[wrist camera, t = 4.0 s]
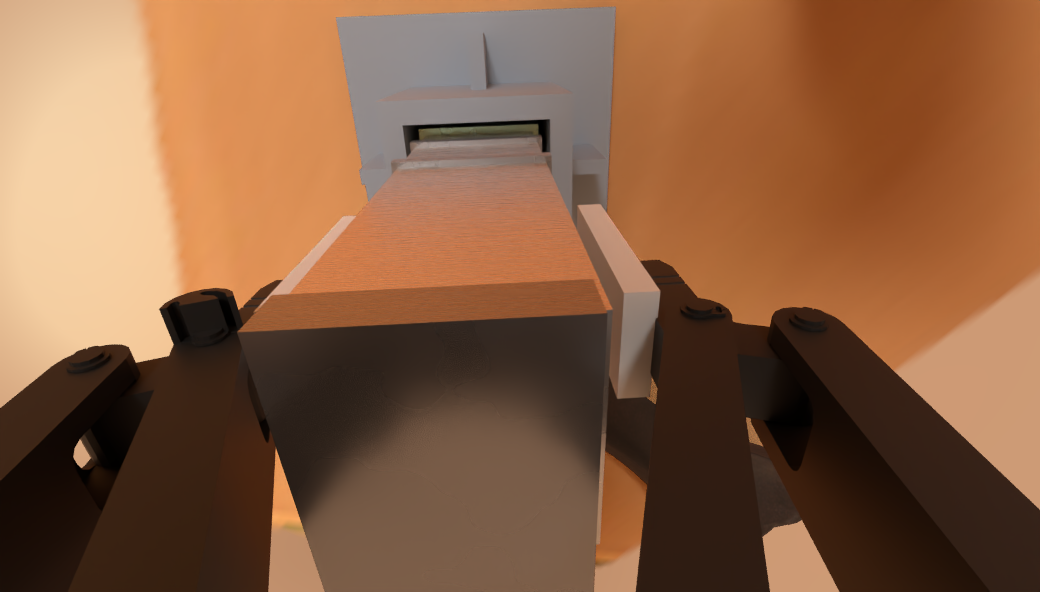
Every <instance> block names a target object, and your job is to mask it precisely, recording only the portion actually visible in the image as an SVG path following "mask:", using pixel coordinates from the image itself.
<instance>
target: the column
mask: <svg viewBox="0 0 1040 592" xmlns="http://www.w3.org/2000/svg"><path fill="white" fill-rule="evenodd" d="M418 130H419V138H420V140H415V141H411V142H410V150H411V153H410V154H409V156H408V157H407V158H406V159H394V160H393V161H392V162H391V169H392V175H391V176H390V178H389V179H388V180H387V181H386V182H385V183H384V185H383V186H382V187H381V188H380V189H379V190H378V191H377V193H376V194H375V195H374V196H373V197H372V198H371V200H370V201H369V202H368V203H367V204H366V205H365V207H364V208H363V209H362V210H361V211H360V212H359V213H358V215H357V216H356V217H355V218H354V219H353V220H352V222H351V223H350V224H349V225H348V226H347V227H346V228H345V230H344V231H343V232H342V233H341V234H340V235H339V237H338V238H337V239H336V240H335V241H334V242H333V244H332V245H331V246H330V247H329V248H328V249H327V250H326V252H325V253H324V254H323V255H322V256H321V257H320V259H319V260H318V261H317V262H316V263H315V264H314V266H313V267H312V268H311V269H310V270H309V271H308V272H307V274H306V275H305V276H304V277H303V278H302V279H301V281H300V282H299V283H298V284H297V285H296V286H295V288H294V289H293V290H292V291H291V292H290V293H289V294H282V295H271V296H270V298H269V299H268V300H267V301H266V302H265V303H264V304H263V305H262V306H261V307H260V308H259V309H258V310H257V311H256V313H255V314H254V315H253V316H252V317H251V318H250V319H249V320H248V321H247V322H246V323H245V324H244V325H243V327H242V328H241V329H240V330H239V331H238V332H237V334H238V337H239V340H240V343H241V346H242V348H243V351H244V354H245V357H246V360H247V363H248V366H249V369H250V372H251V375H252V378H253V381H254V384H255V387H256V390H257V393H258V396H259V399H260V402H261V405H262V408H263V410H264V413H265V416H266V419H267V422H268V425H269V428H270V431H271V434H272V437H273V440H274V443H275V446H276V449H277V452H278V455H279V458H280V461H281V464H282V467H283V470H284V473H285V475H286V478H287V481H288V484H289V487H290V490H291V493H292V496H293V499H294V502H295V505H296V508H297V511H298V514H299V517H300V520H301V523H302V526H303V529H304V532H305V535H306V538H307V540H308V543H309V546H310V549H311V552H312V555H313V558H314V561H315V564H316V567H317V570H318V573H319V576H320V579H321V582H322V585H323V588H324V591H325V592H594V576H595V557H596V544H600V534H601V516H602V498H603V480H604V461H605V443H606V425H607V407H608V388H609V370H610V352H611V334H612V316H613V309H612V307H611V305H610V302H609V300H608V298H607V296H606V294H605V291H604V289H603V287H602V285H601V282H600V280H599V278H598V276H597V274H596V271H595V269H594V267H593V265H592V263H591V260H590V258H589V256H588V254H587V252H586V249H585V247H584V245H583V243H582V240H581V238H580V236H579V234H578V232H577V229H576V227H575V225H574V223H573V221H572V218H571V216H570V214H569V212H568V210H567V207H566V205H565V203H564V201H563V198H562V196H561V194H560V192H559V190H558V187H557V185H556V183H555V181H554V179H553V176H552V155H551V153H550V152H543V153H542V136H541V135H538V123H537V121H536V120H518V121H495V122H471V123H448V124H425V125H422V126H421V127H420V128H419V129H418Z"/></svg>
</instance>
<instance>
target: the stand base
mask: <svg viewBox="0 0 1040 592" xmlns="http://www.w3.org/2000/svg"><path fill="white" fill-rule="evenodd" d="M615 12H616V7H595V8H569V9H542V10H516V11H490V12H463V13H437V14H411V15H384V16H358V17H336V21H337V26H338V32H339V38H340V43H341V49H342V55H343V60H344V66H345V72H346V77H347V83H348V89H349V94H350V100H351V106H352V111H353V117H354V123H355V128H356V134H357V140H358V145H359V151H360V157H361V162H362V168H361V169H360V170H359V171H360V177H361V182H362V185H364V184H365V185H366V191H367V196H368V202H369V201H370V200H371V198H372V197H373V196H374V195H375V194H376V193H377V191H378V190H379V189H380V188H381V187H382V186H383V185H384V183H385V182H386V181H387V180H388V179H389V178H390V176H391V175H392V169H391V162H392V161H393V160H394V159H406V158H407V157H408V156H409V154H410V153H411V150H410V142H411V141H415V140H420V138H419V130H418V129H419V128H420V127H421V126H422V125H425V124H448V123H471V122H495V121H518V120H536V121H537V123H538V135H541V136H542V153H543V152H550V153H551V155H552V176H553V179H554V181H555V183H556V185H557V187H558V190H559V192H560V194H561V196H562V198H563V201H564V203H565V205H566V207H567V210H568V212H569V214H570V216H571V218H572V221H573V223H574V225H575V227H576V229H577V205H592V204H601V205H602V207H603V208H604V210H605V211H606V213H607V193H608V170H609V148H610V125H611V102H612V80H613V57H614V34H615Z"/></svg>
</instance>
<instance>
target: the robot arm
mask: <svg viewBox="0 0 1040 592" xmlns="http://www.w3.org/2000/svg"><path fill="white" fill-rule="evenodd" d="M355 217H356V216H343V217H342V218H341V219H340V220H339V221H338V223H337V224H336V225H335V226H334V227H333V228H332V229H331V230H330V231H329V232H328V233H327V234H326V235H325V236H324V237H323V238H322V239H321V241H320V242H319V243H318V244H317V245H316V246H315V247H314V248H313V249H312V250H311V251H310V252H309V253H308V254H307V255H306V256H305V258H304V259H303V260H302V261H301V262H300V263H299V264H298V265H297V266H296V267H295V268H294V269H293V270H292V271H291V272H290V273H289V275H288V276H287V277H286V278H285V279H284V280H276V281H274V282H272V283H270V284H268V285H267V286H265V287H263V288H261V289H260V290H259V291H258V292H257V293H256V294H255V295H254V296H253V297H252V298H251V300H249V301H248V302H247V303H246V304H245V305H244V308H241V309H240V310H238V307H237V304H236V301H235V298H234V295H233V292H232V291H230V290H228V289H220V288H213V289H203V290H199V291H194V292H190V293H187V294H184V295H181V296H178V297H176V298H174V299H172V300H170V301H168V302H167V303H165V304H164V305H163V306H162V307H161V308H160V309H159V310H160V312H161V315H162V317H163V319H164V322H165V324H166V327H167V329H168V331H169V334H170V336H171V339H172V341H173V344H174V345H173V348H172V350H171V352H170V355H169V356H167V357H162V358H158V359H153V360H148V361H143V362H138V363H136V362H135V360H134V358H133V356H132V353H131V351H130V349H129V347H127V346H124V345H105V346H93V347H89V348H88V349H83V350H80V351H77V352H76V353H75V354H74V355H71V356H69V357H67V358H65V359H63V360H61V361H60V362H58V363H56V364H55V365H53V366H52V367H51V368H50V369H48V370H47V371H46V372H44V373H43V374H42V375H41V376H40V377H38V378H37V379H36V380H35V381H33V382H32V383H31V384H30V385H29V386H27V387H26V388H25V389H24V390H22V391H21V392H20V393H19V394H17V395H16V396H15V397H14V398H12V399H11V400H10V401H9V402H7V403H6V404H5V405H4V406H2V407H1V408H0V592H268V585H269V565H270V547H271V527H272V508H273V488H274V469H275V450H276V446H275V443H274V440H273V437H272V434H271V431H270V428H269V425H268V422H267V419H266V416H265V413H264V410H263V408H262V405H261V402H260V399H259V396H258V393H257V390H256V387H255V384H254V381H253V378H252V375H251V372H250V369H249V366H248V363H247V360H246V357H245V354H244V351H243V348H242V346H241V343H240V340H239V337H238V334H237V332H238V331H239V330H240V329H241V328H242V327H243V325H244V324H245V323H246V322H247V321H248V320H249V319H250V318H251V317H252V316H253V315H254V314H255V313H256V311H257V310H258V309H259V308H260V307H261V306H262V305H263V304H264V303H265V302H266V301H267V300H268V299H269V298H270V296H271V295H282V294H289V293H290V292H291V291H292V290H293V289H294V288H295V286H296V285H297V284H298V283H299V282H300V281H301V279H302V278H303V277H304V276H305V275H306V274H307V272H308V271H309V270H310V269H311V268H312V267H313V266H314V264H315V263H316V262H317V261H318V260H319V259H320V257H321V256H322V255H323V254H324V253H325V252H326V250H327V249H328V248H329V247H330V246H331V245H332V244H333V242H334V241H335V240H336V239H337V238H338V237H339V235H340V234H341V233H342V232H343V231H344V230H345V228H346V227H347V226H348V225H349V224H350V223H351V222H352V220H353V219H354V218H355ZM577 232H578V234H579V236H580V238H581V240H582V243H583V245H584V247H585V249H586V252H587V254H588V256H589V258H590V260H591V263H592V265H593V267H594V269H595V271H596V274H597V276H598V278H599V280H600V282H601V285H602V287H603V289H604V291H605V294H606V296H607V298H608V300H609V302H610V305H611V307H612V309H613V316H612V334H611V352H610V370H609V376H610V379H611V382H612V385H613V388H614V391H615V394H616V397H617V399H621V398H639V397H650V389H651V379H652V378H653V380H654V382H655V384H656V386H657V388H658V390H657V399H656V409H655V418H654V427H653V436H652V446H651V455H650V464H649V474H648V483H647V492H646V502H645V511H644V520H643V529H642V539H641V548H640V557H639V558H640V559H639V567H638V577H637V586H636V592H770V589H769V582H768V575H767V567H766V560H765V554H764V546H763V538H762V531H761V524H760V517H759V509H758V502H757V495H756V488H755V480H754V473H753V466H752V459H751V451H750V444H749V437H748V430H747V422H746V417H748V418H751V423H752V425H753V427H754V429H755V431H756V433H757V435H758V437H759V439H760V441H761V442H762V444H763V446H764V448H765V450H766V452H767V454H768V456H769V458H770V460H771V462H772V464H773V465H774V467H775V469H776V471H777V473H778V475H779V477H780V479H781V481H782V483H783V485H784V486H785V488H786V490H787V492H788V494H789V496H790V498H791V500H792V502H793V504H794V506H795V508H796V509H797V511H798V513H799V515H800V517H801V519H802V521H803V523H804V525H805V527H806V528H807V530H808V532H809V534H810V536H811V538H812V540H813V541H814V544H815V546H816V548H817V550H818V551H819V553H820V555H821V557H822V559H823V561H824V563H825V565H826V567H827V569H828V571H829V572H830V574H831V576H832V578H833V580H834V582H835V584H836V586H837V588H838V590H839V592H1040V510H1039V509H1038V508H1037V507H1036V506H1035V505H1034V504H1033V503H1032V502H1031V501H1030V500H1029V499H1028V498H1027V497H1026V496H1025V495H1024V494H1022V492H1020V491H1019V490H1018V489H1017V488H1016V487H1015V486H1014V485H1013V484H1012V483H1011V482H1010V481H1009V480H1008V479H1007V478H1006V477H1004V475H1003V474H1002V473H1001V472H999V471H998V470H997V469H996V468H995V467H994V466H993V465H992V464H991V463H990V462H989V461H988V460H987V459H986V458H985V457H984V456H983V455H982V454H981V453H979V452H978V451H977V450H976V449H975V448H974V447H973V446H972V445H971V444H970V443H969V442H968V441H967V440H966V439H965V438H964V437H963V436H961V434H959V433H958V432H957V431H956V430H955V429H954V428H953V427H952V426H951V425H950V424H949V423H948V422H947V421H946V420H945V419H944V418H943V417H941V416H940V415H939V414H938V413H937V412H936V411H935V410H934V409H933V408H932V407H931V406H930V405H929V404H928V403H926V401H925V400H923V398H922V397H921V396H919V395H918V394H917V393H916V392H915V391H914V390H913V389H912V388H911V387H910V386H909V385H908V384H907V383H906V382H905V381H904V380H903V379H902V378H901V377H899V376H898V375H897V374H896V373H895V372H894V371H893V370H892V369H891V368H890V367H889V366H888V365H887V364H886V363H885V362H884V361H883V360H882V359H881V358H879V357H878V356H877V355H876V354H875V353H874V352H873V351H872V350H871V349H870V348H869V347H868V346H867V345H866V344H865V343H864V342H863V341H862V340H861V339H859V338H858V337H857V336H856V335H855V334H854V333H853V332H852V331H851V330H850V329H849V328H848V327H847V326H846V325H845V324H844V323H843V322H841V321H840V320H838V319H837V318H835V317H834V316H831V315H829V314H826V313H824V312H823V311H821V310H817V309H814V310H813V309H812V308H808V307H803V308H797V307H792V308H783V309H780V310H778V311H775V313H774V314H773V316H772V320H771V324H770V327H766V326H757V325H748V324H741V323H735V322H733V321H732V315H731V313H730V311H729V309H727V308H726V307H724V306H723V305H721V304H719V303H717V302H714V301H711V300H707V299H701V298H697V296H696V295H695V294H694V293H693V291H692V290H691V289H690V288H689V287H688V285H687V284H685V282H684V281H683V279H682V278H681V277H679V274H678V273H677V272H676V271H675V270H674V268H673V267H672V266H670V265H668V264H666V263H664V262H662V261H660V260H648V261H639V259H638V258H637V256H636V255H635V253H634V252H633V251H632V249H631V248H630V246H629V245H628V243H627V242H626V240H625V239H624V237H623V236H622V235H621V233H620V232H619V230H618V229H617V227H616V226H615V224H614V223H613V221H612V220H611V219H610V217H609V216H608V214H607V213H606V211H605V210H604V208H603V207H602V205H601V204H592V205H577ZM79 439H80V440H81V441H82V443H83V445H84V447H85V448H86V450H87V452H88V454H89V455H90V457H91V459H90V460H89V461H88V463H87V464H86V465H85V466H84V467H83V468H80V467H79V466H78V465H77V463H76V461H75V460H74V458H73V455H74V448H75V446H76V445H77V443H78V441H79Z"/></svg>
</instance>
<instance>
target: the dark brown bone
mask: <svg viewBox="0 0 1040 592" xmlns="http://www.w3.org/2000/svg"><path fill="white" fill-rule="evenodd" d="M655 409H656V405H655V404H654V403H653V402H651V401H650V400H649V399H647V398H646V397H639V398H621V399H617V397H616V394H615V391H614V388H613V385H612V382H611V379H610V376H609V388H608V407H607V425H606V443H605V451H606V452H608V453H609V454H611V455H612V456H614V457H615V458H616V459H618V460H619V461H620V462H622V463H623V464H624V465H625V466H627V467H628V468H629V469H630V470H632V471H633V472H634V473H635V474H636V475H637V476H638V477H640V478H641V479H642V480H643V481H644V482H645V483H646V484H647V483H648V474H649V464H650V455H651V446H652V436H653V427H654V418H655ZM749 444H750V451H751V459H752V466H753V473H754V480H755V488H756V495H757V502H758V509H759V517H760V524H761V531H762V537H763V536H764V535H765V534H767V533H768V532H769V531H771V530H772V529H773V528H774V527H778V526H783V525H790V524H794V523H797V522H799V521H801V520H802V519H801V517H800V515H799V513H798V511H797V509H796V508H795V506H794V504H793V502H792V500H791V498H790V496H789V494H788V492H787V490H786V488H785V486H784V485H783V483H782V481H781V479H780V477H779V475H778V473H777V471H776V469H775V467H774V465H773V464H772V462H771V460H770V458H769V456H768V454H767V452H766V450H765V448H764V447H762V446H760V445H756V444H753V443H749Z"/></svg>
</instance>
